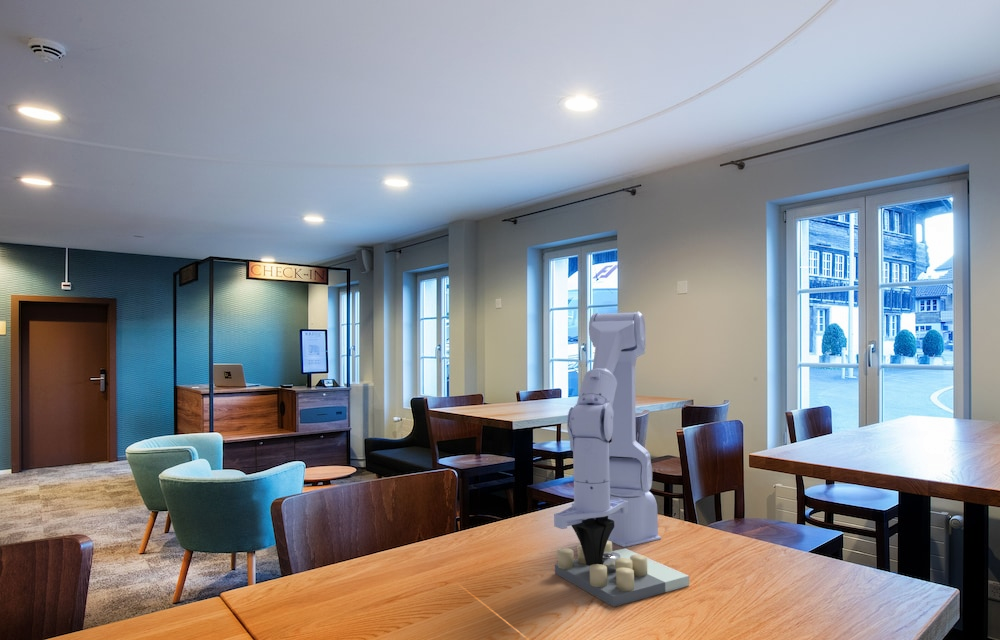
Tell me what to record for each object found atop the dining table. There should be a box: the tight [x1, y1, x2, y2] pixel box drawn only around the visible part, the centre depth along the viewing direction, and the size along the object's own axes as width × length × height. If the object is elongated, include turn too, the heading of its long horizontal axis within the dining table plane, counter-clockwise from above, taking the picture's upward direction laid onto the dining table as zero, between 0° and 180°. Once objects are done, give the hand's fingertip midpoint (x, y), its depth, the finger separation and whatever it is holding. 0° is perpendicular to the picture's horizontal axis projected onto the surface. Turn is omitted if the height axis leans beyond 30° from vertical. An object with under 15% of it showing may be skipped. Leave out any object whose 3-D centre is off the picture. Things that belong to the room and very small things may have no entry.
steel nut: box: [601, 551, 620, 573], centre depth 99 cm, size 4×4×2 cm
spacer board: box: [554, 540, 690, 608], centre depth 98 cm, size 15×15×4 cm
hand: (593, 565), depth 97 cm, fingers closed
